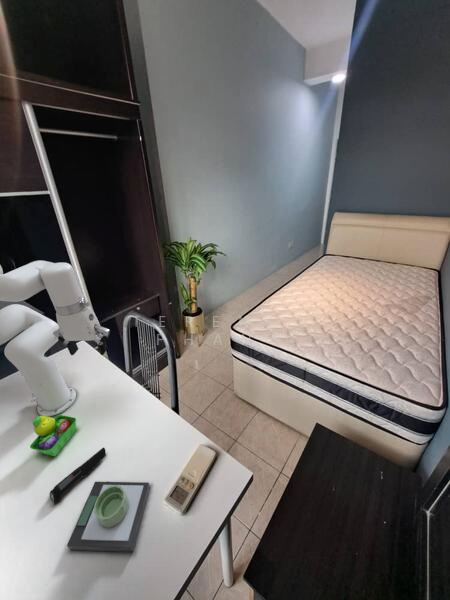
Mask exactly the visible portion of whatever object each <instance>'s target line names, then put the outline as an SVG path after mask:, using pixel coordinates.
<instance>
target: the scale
mask: <svg viewBox="0 0 450 600" xmlns="http://www.w3.org/2000/svg"><path fill="white" fill-rule="evenodd" d="M113 485H118V486H121V487H122V489H123V490H124V492H125V494H126V496H127V498H128V504H129V506H128V510H127V513H126V515H125V516H124V518H123V519H122V520H121V521H120V522H119V523H118V524H116V525H115V526H112V527H105V526H102V525H101V523H100V522H99V520H98V519H97V517H96V515H95V513H94V505H95V502H96V500H97V497H98V496H99V495H100V494H101V492H102V491H103V490H105V489H106V488H108V487H109V486H113ZM150 490H151V486H150V482H145V481H144V482H143V481H141V482H140V481H139V482H137V481H135V482H134V481H94V483H93V485H92V487H91V490H90V492H89V494H88V497H87V499H86V501H85V503H84V506H83V508H82V510H81V513H80V515H79V517H78V519H77V522H76V525H75V526H74V528H73V531H72V533H71V536H70V538H69V540H68V542H67V544H66V547H67V548H68V549H69V550H70V551H71V550H72V551H93V552H94V551H97V552H98V551H99V552H124V553H125V552H126V553H127V552H128V553H129V552H130V553H133V552H134V551H135V547H136V543H137V539H138V535H139V531H140V528H141V524H142V521H143V516H144V513H145V509H146V505H147V501H148V497H149V494H150Z"/></svg>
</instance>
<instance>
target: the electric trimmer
mask: <svg viewBox="0 0 450 600" xmlns="http://www.w3.org/2000/svg"><path fill="white" fill-rule="evenodd" d="M106 455H107V453H106V447H102V448H101V449H99V450H98V451H97V452H96V453H95V454H93V455H92V456H90V458H88V459H87V460H86V461H84V463H82V464H81V465H80V466H78V467H77V468H75V469H74V470H72V471H71V473H69V474H67V476H66V477H64V478H63V479H62V480H60V481H59V482H58V483H57V484H56V485H54V486H53V488H52V489H51V490H50V491H49V498H50V500H51V501H52V503H53V504H54V505H55V504H56V503H59V502H60V500H61V497H62V496H63V495H64V494H65V493H66V492H67V491H69V490H70V489H71V488H72V487H73V486H75V484H76V483H77V482H79V481H80V480H81V479H82V478H83V477H87V476H88V475H90V473H91V472H92V471H93V470H94V469H95V468H96V467H97V465H99V464H100V462H101V461H102V460H103V459H104V458H105V457H106Z"/></svg>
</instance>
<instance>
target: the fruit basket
mask: <svg viewBox="0 0 450 600" xmlns="http://www.w3.org/2000/svg"><path fill="white" fill-rule="evenodd" d="M32 425H33V427H34V428H33V429H34V433H35V434H36V435H37V437H36V438H35V439H34V441H32V443H31V444H30V445H29V448H30V449H31V450H35V451H37V452H39V453H41V454H44V455H47V456H52V457H55V458H56V457H57V456H58V454H59V453H60V451H61V450H62V449H63V448H64V446H65V445H66V444H67V443H68V442H69V440H70V439H71V438H72V436H73V435H74V434H75V433H76V432H77V418H76V417H73V416H68V415H65V414H57V415H55V417H54V418H53V417H52V416H48V417H46V416H43V415H39V416H35V418H34V419H33V420H32Z"/></svg>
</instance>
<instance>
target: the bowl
mask: <svg viewBox="0 0 450 600" xmlns="http://www.w3.org/2000/svg"><path fill="white" fill-rule="evenodd" d="M128 506H129V504H128V498H127V496H126V494H125V492H124V490H123V489H122V487H121V486H118V485H113V486H109V487H108V488H106V489H105V490H103V491H102V492H101V494H100V495H99V496H98V497H97V500H96V502H95V505H94V513H95V515H96V517H97V519H98V520H99V522H100V523H101V525H102V526H105V527H112V526H115V525H116V524H118V523H119V522H120V521H121V520H122V519H123V518H124V516H125V515H126V513H127V510H128Z"/></svg>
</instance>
